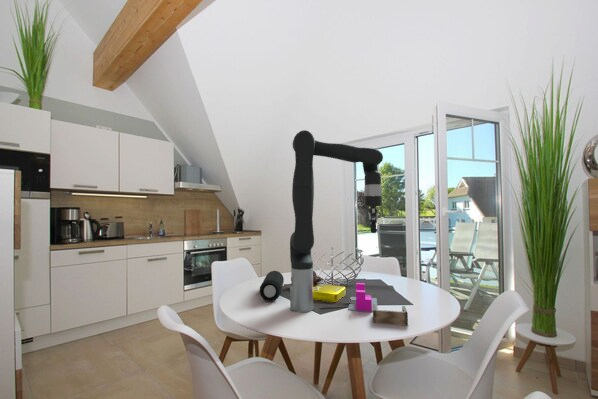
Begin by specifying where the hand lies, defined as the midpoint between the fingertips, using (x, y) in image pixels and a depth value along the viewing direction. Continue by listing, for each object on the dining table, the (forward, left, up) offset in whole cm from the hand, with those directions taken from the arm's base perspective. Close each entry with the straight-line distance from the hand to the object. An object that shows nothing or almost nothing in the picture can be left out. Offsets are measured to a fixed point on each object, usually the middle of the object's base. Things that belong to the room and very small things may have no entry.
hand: (373, 232), depth 128 cm
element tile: (-22, +9, -33) cm, 40 cm away
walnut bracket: (+5, -16, -32) cm, 36 cm away
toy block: (-5, -1, -32) cm, 32 cm away
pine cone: (-35, +24, -32) cm, 53 cm away
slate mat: (-5, +1, -32) cm, 32 cm away
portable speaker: (-49, +7, -32) cm, 59 cm away
